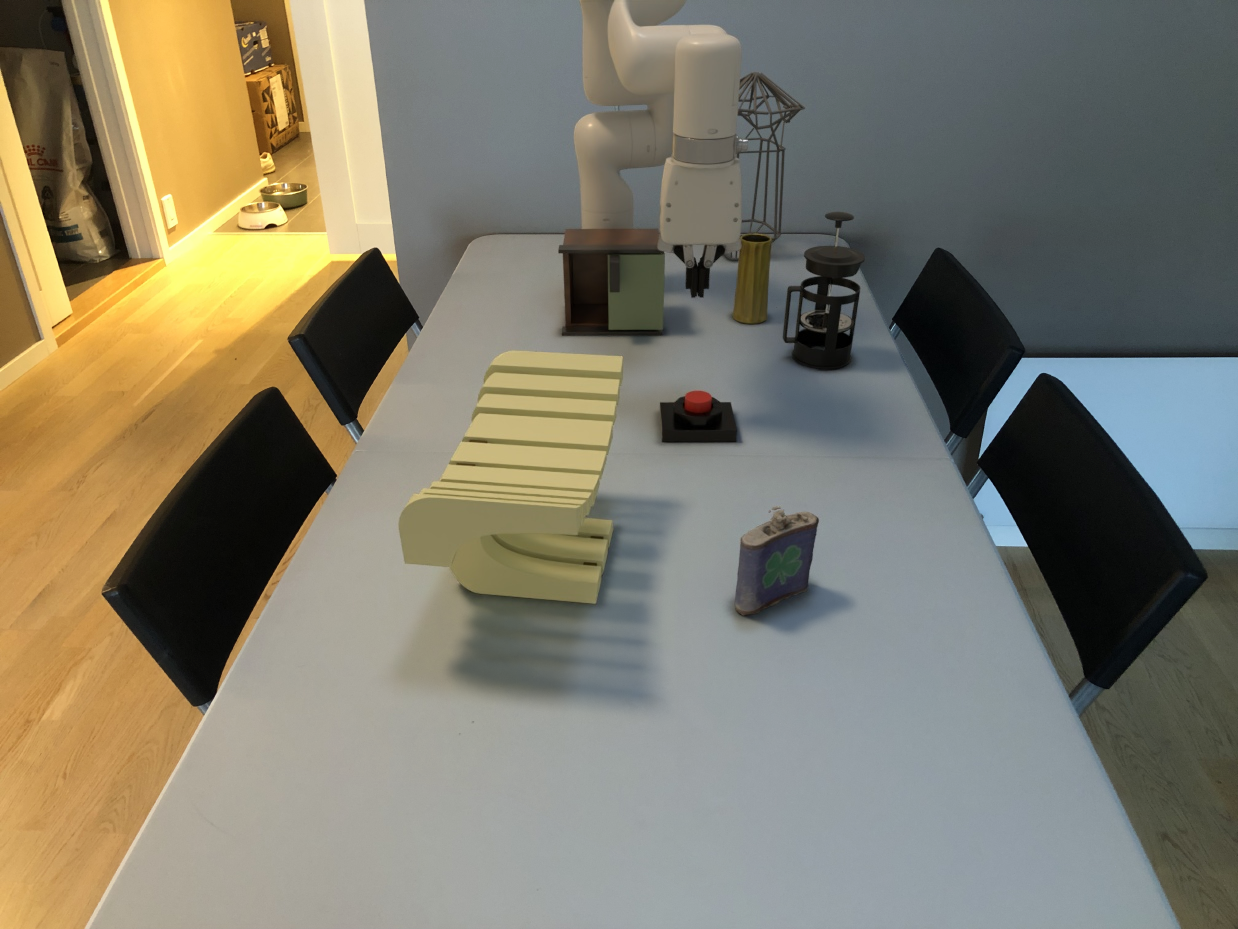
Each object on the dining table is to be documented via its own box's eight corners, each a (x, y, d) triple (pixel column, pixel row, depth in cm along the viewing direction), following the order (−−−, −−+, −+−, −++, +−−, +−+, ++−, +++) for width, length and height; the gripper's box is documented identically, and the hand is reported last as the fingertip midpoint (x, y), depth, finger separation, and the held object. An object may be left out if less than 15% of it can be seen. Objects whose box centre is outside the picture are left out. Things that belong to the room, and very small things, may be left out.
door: (608, 338, 143) (607, 262, 136) (608, 328, 147) (607, 253, 140) (664, 338, 143) (665, 262, 136) (662, 327, 147) (664, 252, 140)
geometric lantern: (695, 244, 187) (703, 68, 169) (763, 238, 190) (778, 65, 172) (719, 268, 174) (731, 80, 156) (792, 261, 177) (812, 76, 159)
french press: (847, 345, 142) (868, 204, 130) (862, 370, 134) (885, 222, 122) (776, 345, 142) (790, 205, 130) (786, 370, 134) (802, 223, 122)
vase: (769, 324, 150) (776, 243, 142) (733, 324, 150) (739, 243, 142) (764, 311, 155) (771, 232, 147) (730, 310, 155) (735, 232, 148)
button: (685, 414, 116) (685, 402, 115) (683, 401, 119) (684, 390, 118) (712, 414, 116) (712, 402, 115) (709, 401, 119) (710, 390, 118)
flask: (743, 619, 86) (752, 533, 81) (726, 603, 89) (733, 517, 83) (814, 589, 90) (827, 504, 85) (795, 573, 93) (806, 490, 87)
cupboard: (561, 335, 146) (558, 249, 138) (565, 307, 157) (562, 226, 149) (662, 335, 146) (664, 249, 138) (659, 307, 157) (661, 225, 149)
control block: (661, 442, 116) (662, 419, 114) (659, 413, 123) (660, 391, 121) (736, 442, 116) (738, 419, 114) (730, 413, 123) (731, 391, 121)
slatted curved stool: (497, 479, 109) (485, 348, 99) (623, 488, 107) (622, 356, 97) (419, 647, 83) (392, 494, 74) (582, 663, 82) (576, 508, 72)
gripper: (761, 141, 107) (750, 283, 117) (640, 141, 107) (639, 283, 117) (770, 156, 101) (757, 304, 110) (642, 156, 101) (640, 304, 111)
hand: (696, 293), depth 114 cm, fingers closed
